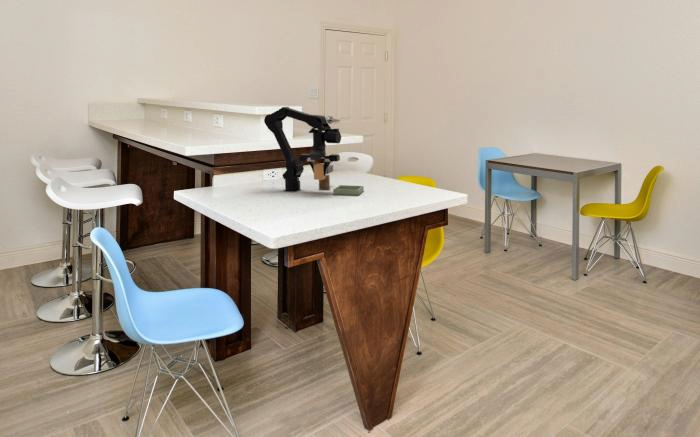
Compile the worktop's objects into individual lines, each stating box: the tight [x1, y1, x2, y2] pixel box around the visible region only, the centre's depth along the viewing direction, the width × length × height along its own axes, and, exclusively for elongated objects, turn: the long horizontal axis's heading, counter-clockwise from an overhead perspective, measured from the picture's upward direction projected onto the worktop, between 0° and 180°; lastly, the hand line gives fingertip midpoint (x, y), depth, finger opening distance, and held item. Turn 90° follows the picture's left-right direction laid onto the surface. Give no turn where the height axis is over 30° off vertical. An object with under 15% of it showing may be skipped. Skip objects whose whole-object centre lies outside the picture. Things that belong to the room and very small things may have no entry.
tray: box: [332, 184, 364, 197], centre depth 253 cm, size 12×12×3 cm
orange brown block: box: [313, 163, 327, 181], centre depth 253 cm, size 4×5×7 cm
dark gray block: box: [326, 164, 334, 175], centre depth 267 cm, size 3×10×3 cm, turn 167°
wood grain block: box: [318, 174, 331, 191], centre depth 262 cm, size 5×2×7 cm, turn 77°
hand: (319, 175), depth 254 cm, fingers closed on orange brown block, 4 cm apart
